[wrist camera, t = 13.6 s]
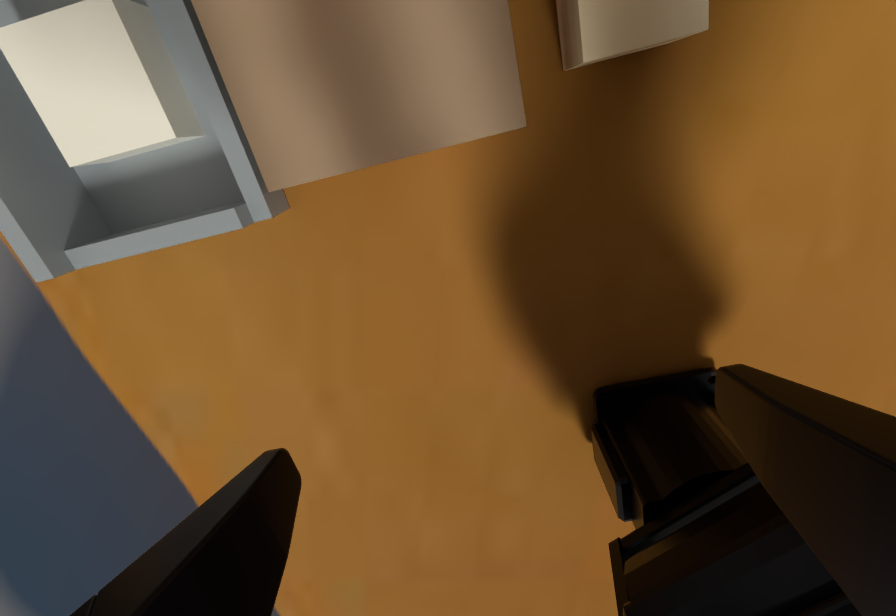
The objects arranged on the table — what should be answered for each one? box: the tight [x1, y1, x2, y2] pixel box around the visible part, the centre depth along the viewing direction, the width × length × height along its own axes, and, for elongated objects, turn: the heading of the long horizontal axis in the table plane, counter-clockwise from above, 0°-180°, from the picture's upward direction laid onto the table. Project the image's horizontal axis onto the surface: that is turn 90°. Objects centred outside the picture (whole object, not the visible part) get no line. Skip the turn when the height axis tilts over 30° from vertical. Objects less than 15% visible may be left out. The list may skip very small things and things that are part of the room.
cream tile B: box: [0, 0, 206, 167], centre depth 16 cm, size 4×4×2 cm
